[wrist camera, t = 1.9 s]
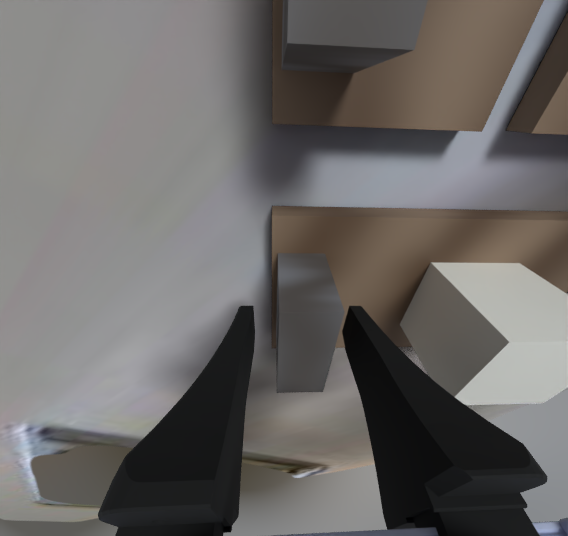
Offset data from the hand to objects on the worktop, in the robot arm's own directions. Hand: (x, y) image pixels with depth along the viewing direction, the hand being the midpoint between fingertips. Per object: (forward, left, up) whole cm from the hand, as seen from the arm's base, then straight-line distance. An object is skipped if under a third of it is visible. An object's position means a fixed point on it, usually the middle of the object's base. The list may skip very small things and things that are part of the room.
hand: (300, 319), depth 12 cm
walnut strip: (-7, 0, -3) cm, 8 cm away
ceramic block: (-9, 0, -2) cm, 10 cm away
